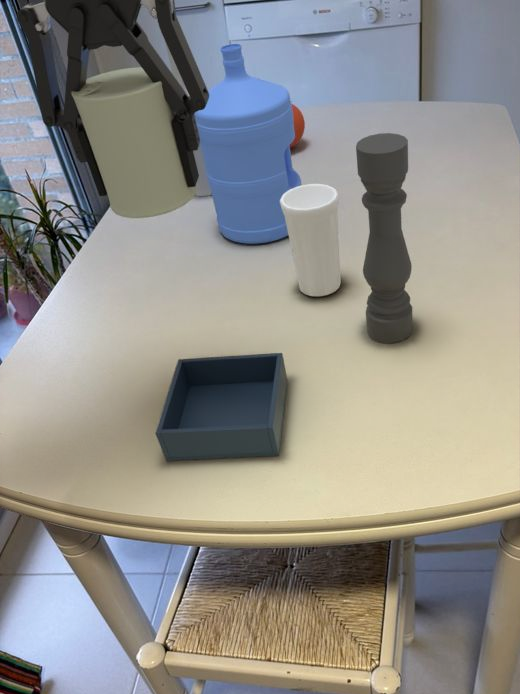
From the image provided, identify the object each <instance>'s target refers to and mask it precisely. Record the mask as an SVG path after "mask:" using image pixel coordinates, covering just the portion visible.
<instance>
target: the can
mask: <svg viewBox="0 0 520 694" xmlns="http://www.w3.org/2000/svg"><path fill="white" fill-rule="evenodd" d="M71 94H72V96H73V98H74V100H75V103H76V106H77V108H78V111H79V114H80V116H81V119H82V124H83V125H84V128H85V130H86V133H87V136H88V139H89V142H90V145H91V147H92V150H93V153H94V156H95V159H96V161H97V164H98V167H99V170H100V173H101V176H102V179H103V182H104V185H105V188H106V191H107V197H108V200H109V207H110V209H111V211H112V212H113V213H114V214H115V215H117V216H119V217H123V218H127V219H146V218H153V217H158V216H162V215H165V214H169V213H172V212H174V211H176V210H179V209H181V208H182V207H185V206H186V205H187V204H188V203H190V201H192V200H193V199H194V197H195V196H196V195H195V193H196V188H195V187H188V185H187V181H186V177H185V174H184V170H183V166H182V162H181V158H180V154H179V150H178V146H177V142H176V139H175V135H174V131H173V127H172V123H171V122H172V120H173V119H174V117H175V111H174V110H173V109H172V107H171V106H170V105H169V103H168V102H167V101H166V99H165V98H164V94H163V89H162V83H161V81H159V82H156V83H153V82H152V81H151V79H150V78H149V76H148V75H147V74H146V72H145V71H144V70H143V68H142V67H141V66H139V67H127V68H121V69H115V70H111V71H107V72H104V73H99V74H97V75H94V76H91V77H88V78H86V84H85V85H84V86H83V88H82V89H81V90H80V91H79V92H74V91H72V92H71Z"/></svg>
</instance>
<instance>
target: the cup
mask: <svg viewBox="0 0 520 694" xmlns="http://www.w3.org/2000/svg"><path fill="white" fill-rule="evenodd" d="M339 197H340V196H339V193H338V190H337V189H335V188H334V187H332V186H331V185H327V184H322V183H309V184H308V183H307V184H302V186H298V187H295V188H293V189H290V190H288V191H287V192H286V193H284V194H283V195H282V197H281V199H280V204H281V208H282V211H283V214H284V216H285V221H286V225H287V230H288V239H289V240H288V241H289V244H290V248H291V253H292V254H291V255H292V259H293V263H294V268H295V272H296V278H297V282H298V285H299V286H298V288H299V291H300V292H302V294H304V295H307V296H310V297H325V296H328V295H330V294H333V293H335V292H336V291H337V290H338V289H339V288H340V286H341V283H342V282H341V258H340V257H341V256H340V237H339V235H340V234H339V233H340V232H339V215H338V213H339V212H338V205H339Z"/></svg>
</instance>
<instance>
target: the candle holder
mask: <svg viewBox="0 0 520 694" xmlns="http://www.w3.org/2000/svg"><path fill="white" fill-rule="evenodd" d="M355 152H356V163H357V164H356V167H357V175H358V177H359V179H360V182H361V184H362V185H363V186H364V189H365V191H366V192H364V193H363V194H362V196H361V203H362V205H363V207H364V208H366V210H367V213H368V227H369V232H368V239H367V244H366V251H365V256H364V260H363V266H362V274H363V277H364V279H365V282H366V284H368V286H369V287H370V290H371V292H370V294H369V295H368V296H367V299H366V309H365V320H366V321H365V322H366V334H367V335H368V337H369V338H370V339H371V340H373V341H374V342H377V343H381V344H395V343H401V342H403V341H404V340H407V339H408V338H409V337H410V336H411V335H412V333H413V328H414V326H413V325H414V322H413V318H414V317H413V316H414V315H413V306H412V304H411V296H410V295H409V293H408V292H407V291H406V290H405V289H406V284H407V283H408V281H409V280H410V279H411V278H410V277H411V274H412V268H413V267H412V261H411V259H410V253H409V251H408V246H407V244H406V238H405V235H404V233H403V229H402V226H403V225H402V208H403V206H404V205H405V203H407V198H408V195H407V192H406V191H405V190H404V189H403V188H402V187H403V184H404V182H405V180H406V177H407V174H408V172H409V140H408V138H407V137H406V136H404V135H401V134H399V133H393V132H392V133H391V132H386V133H385V132H384V133H376V134H370V135H368V136H364V137H362V138H361V139H360V140H358V141H357V142H356V145H355Z"/></svg>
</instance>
